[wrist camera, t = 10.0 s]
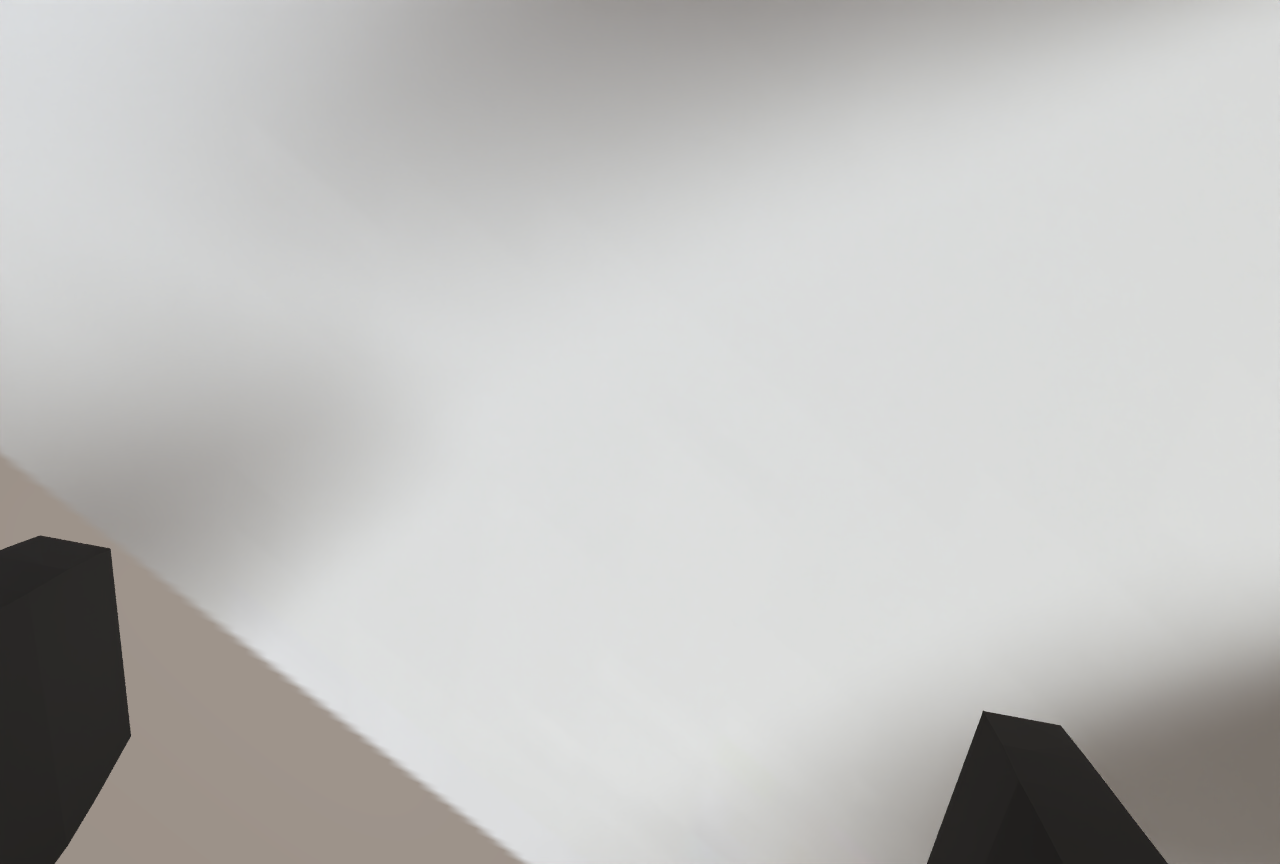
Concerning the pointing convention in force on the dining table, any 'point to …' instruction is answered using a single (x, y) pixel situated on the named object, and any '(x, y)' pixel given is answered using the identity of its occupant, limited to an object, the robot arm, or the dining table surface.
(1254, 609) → the dining table surface
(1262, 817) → the dining table surface
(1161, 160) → the dining table surface
